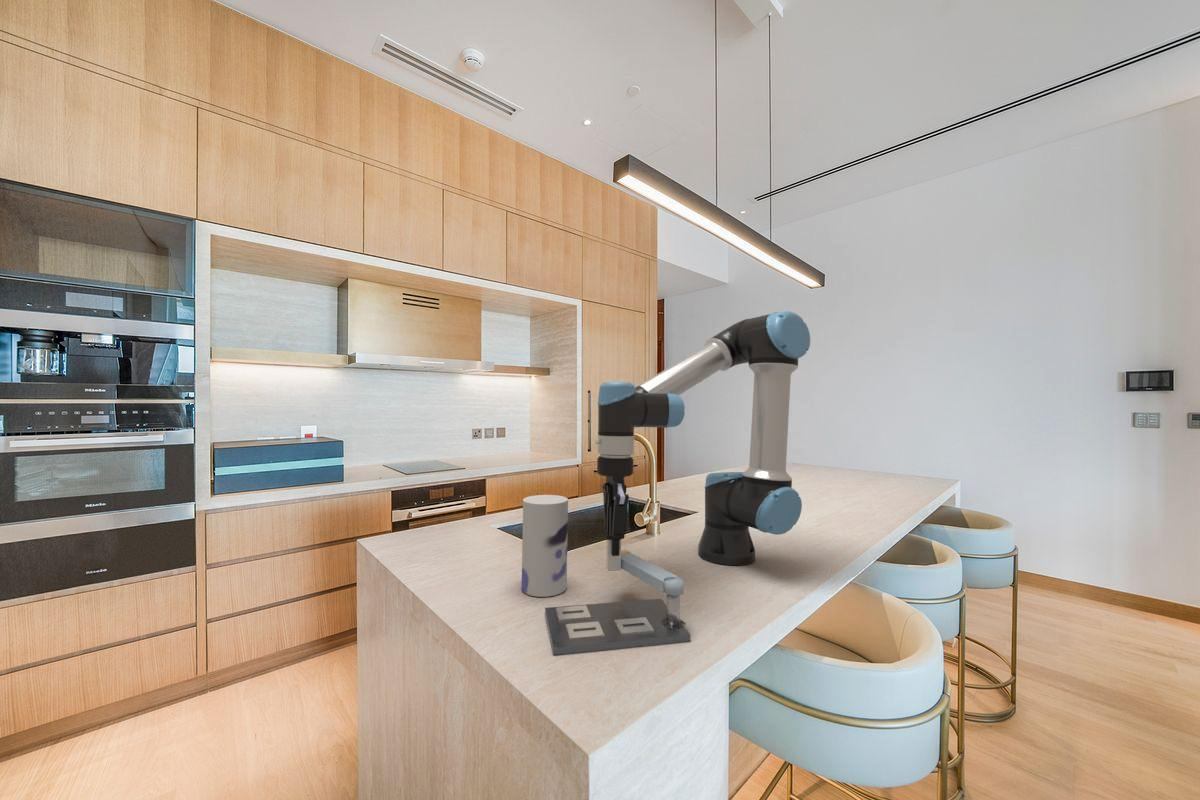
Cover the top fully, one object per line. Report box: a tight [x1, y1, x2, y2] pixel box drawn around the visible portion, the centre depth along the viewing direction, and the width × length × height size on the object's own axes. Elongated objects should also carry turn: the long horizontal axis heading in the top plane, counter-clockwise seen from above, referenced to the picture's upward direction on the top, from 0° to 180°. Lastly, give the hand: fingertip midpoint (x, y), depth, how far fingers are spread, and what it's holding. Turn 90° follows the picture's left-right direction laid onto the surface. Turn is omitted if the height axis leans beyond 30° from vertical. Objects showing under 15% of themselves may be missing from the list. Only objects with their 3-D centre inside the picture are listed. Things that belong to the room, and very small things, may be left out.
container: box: [521, 494, 569, 598], centre depth 102 cm, size 10×10×20 cm
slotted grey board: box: [544, 598, 692, 656], centre depth 84 cm, size 24×15×2 cm, turn 102°
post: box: [661, 594, 686, 629], centre depth 84 cm, size 4×4×7 cm
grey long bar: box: [621, 549, 685, 596], centre depth 91 cm, size 21×4×2 cm, turn 31°
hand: (613, 569), depth 95 cm, fingers closed
